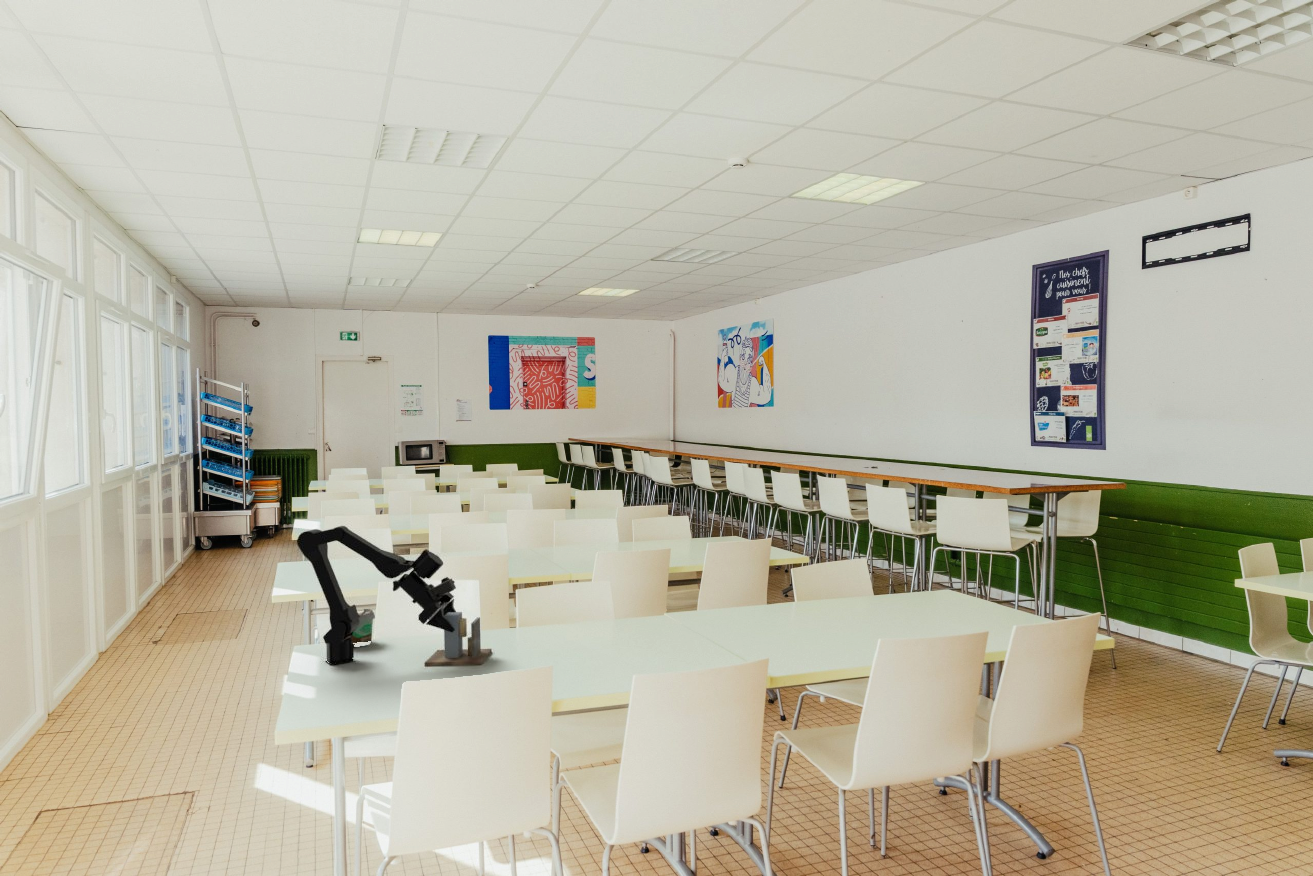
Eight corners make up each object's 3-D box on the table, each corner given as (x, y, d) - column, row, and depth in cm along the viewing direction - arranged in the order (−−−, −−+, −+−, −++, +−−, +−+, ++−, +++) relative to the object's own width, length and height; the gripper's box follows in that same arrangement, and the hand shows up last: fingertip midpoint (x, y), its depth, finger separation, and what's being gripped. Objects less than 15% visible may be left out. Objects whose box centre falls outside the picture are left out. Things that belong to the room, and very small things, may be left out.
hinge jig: (424, 666, 229) (423, 626, 230) (437, 653, 243) (437, 616, 244) (481, 664, 230) (480, 625, 230) (491, 652, 244) (490, 615, 244)
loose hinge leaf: (444, 658, 234) (443, 615, 234) (449, 653, 239) (448, 612, 239) (465, 657, 234) (464, 615, 234) (468, 653, 239) (468, 612, 239)
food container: (361, 650, 250) (361, 617, 250) (343, 649, 251) (342, 616, 251) (383, 640, 262) (382, 609, 262) (365, 639, 263) (365, 608, 263)
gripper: (429, 575, 227) (469, 614, 227) (446, 565, 246) (483, 601, 246) (401, 604, 227) (441, 643, 227) (420, 592, 246) (457, 628, 246)
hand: (457, 627), depth 237 cm, fingers open, 9 cm apart
